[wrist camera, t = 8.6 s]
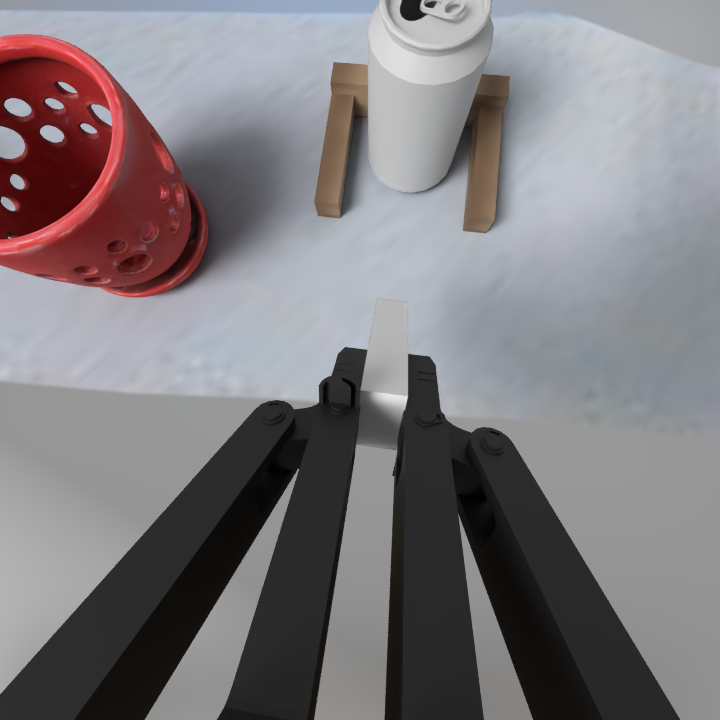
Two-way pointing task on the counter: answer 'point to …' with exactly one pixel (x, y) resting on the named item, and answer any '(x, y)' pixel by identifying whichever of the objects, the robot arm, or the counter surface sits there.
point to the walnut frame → (353, 101)
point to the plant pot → (91, 180)
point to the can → (422, 85)
